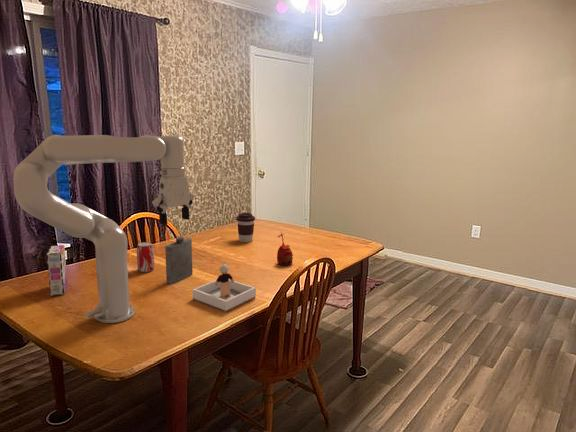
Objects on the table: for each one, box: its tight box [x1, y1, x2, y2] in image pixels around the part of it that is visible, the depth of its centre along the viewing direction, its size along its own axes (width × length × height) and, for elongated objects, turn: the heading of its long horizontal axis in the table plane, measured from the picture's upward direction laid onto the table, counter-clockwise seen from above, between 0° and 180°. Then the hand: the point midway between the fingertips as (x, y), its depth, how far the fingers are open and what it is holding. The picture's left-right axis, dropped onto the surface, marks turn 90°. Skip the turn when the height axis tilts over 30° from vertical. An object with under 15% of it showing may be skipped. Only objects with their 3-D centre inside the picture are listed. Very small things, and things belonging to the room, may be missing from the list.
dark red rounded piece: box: [276, 231, 294, 266], centre depth 200 cm, size 8×7×15 cm
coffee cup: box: [236, 212, 256, 243], centre depth 235 cm, size 10×10×15 cm
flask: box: [164, 236, 194, 285], centre depth 178 cm, size 4×14×18 cm, turn 152°
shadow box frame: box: [192, 279, 257, 313], centre depth 162 cm, size 16×17×4 cm
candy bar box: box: [46, 244, 68, 297], centre depth 164 cm, size 11×5×16 cm, turn 21°
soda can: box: [136, 241, 155, 273], centre depth 188 cm, size 7×7×12 cm
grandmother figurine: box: [215, 263, 235, 299], centre depth 161 cm, size 8×4×13 cm, turn 140°
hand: (174, 221), depth 151 cm, fingers open, 9 cm apart
